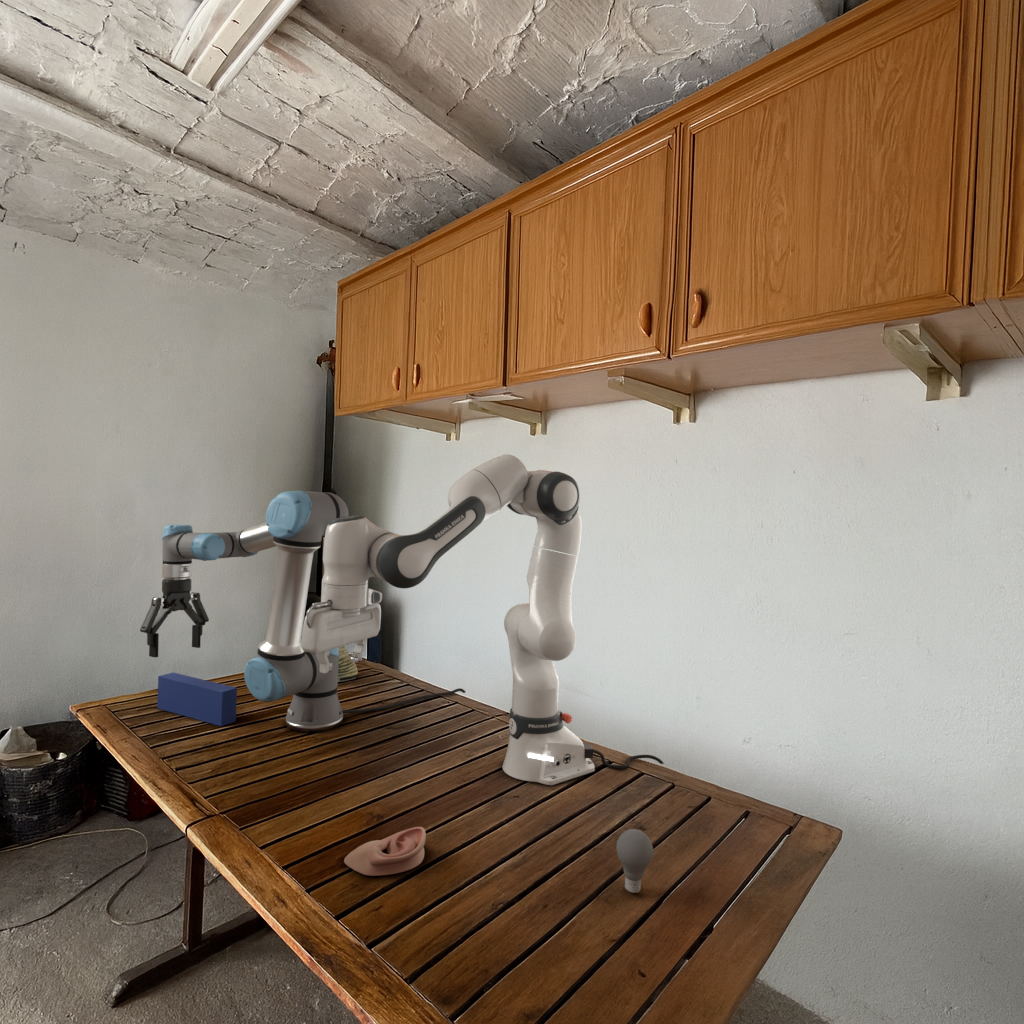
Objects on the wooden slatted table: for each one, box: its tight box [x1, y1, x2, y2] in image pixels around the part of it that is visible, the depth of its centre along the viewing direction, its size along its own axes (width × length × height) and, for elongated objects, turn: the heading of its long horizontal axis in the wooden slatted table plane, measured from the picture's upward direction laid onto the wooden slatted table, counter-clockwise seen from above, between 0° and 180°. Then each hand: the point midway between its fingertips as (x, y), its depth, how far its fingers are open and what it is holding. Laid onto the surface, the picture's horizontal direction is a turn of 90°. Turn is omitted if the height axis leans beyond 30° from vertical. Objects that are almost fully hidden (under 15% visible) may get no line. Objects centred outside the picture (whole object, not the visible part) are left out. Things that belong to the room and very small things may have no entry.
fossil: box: [338, 645, 359, 683], centre depth 217 cm, size 9×18×15 cm, turn 132°
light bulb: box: [615, 828, 654, 894], centre depth 106 cm, size 6×6×10 cm
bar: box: [156, 672, 238, 727], centre depth 179 cm, size 27×5×9 cm, turn 64°
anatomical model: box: [343, 826, 427, 877], centre depth 112 cm, size 13×4×12 cm
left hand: (175, 651), depth 183 cm, fingers open, 13 cm apart
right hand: (341, 666), depth 126 cm, fingers open, 8 cm apart
